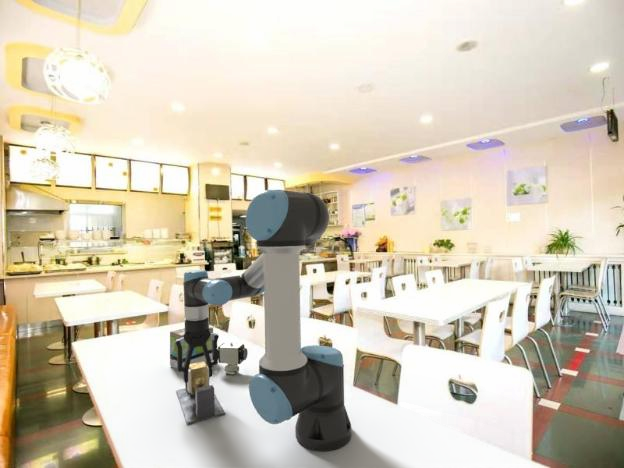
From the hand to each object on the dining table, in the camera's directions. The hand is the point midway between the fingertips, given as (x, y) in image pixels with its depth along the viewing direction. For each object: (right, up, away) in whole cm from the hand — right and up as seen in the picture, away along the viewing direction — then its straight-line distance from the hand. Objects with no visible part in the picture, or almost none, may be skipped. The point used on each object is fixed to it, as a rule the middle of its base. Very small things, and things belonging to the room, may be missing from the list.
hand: (198, 388), depth 112 cm
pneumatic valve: (+6, -4, +23) cm, 24 cm away
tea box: (-14, -5, +34) cm, 37 cm away
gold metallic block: (0, 0, 0) cm, 0 cm away
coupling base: (0, -4, 0) cm, 4 cm away
